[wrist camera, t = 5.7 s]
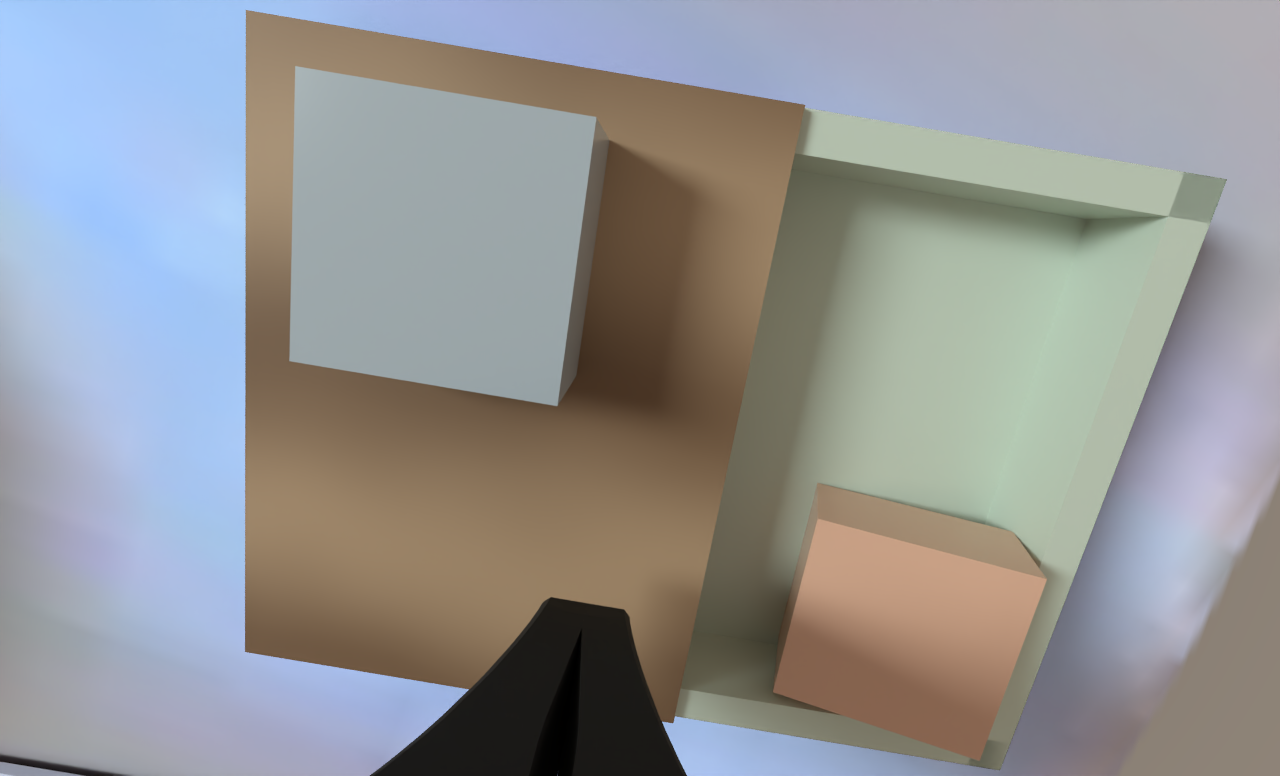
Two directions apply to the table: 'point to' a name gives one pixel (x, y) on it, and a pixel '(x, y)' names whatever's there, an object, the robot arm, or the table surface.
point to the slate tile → (441, 235)
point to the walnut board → (504, 427)
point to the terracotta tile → (905, 618)
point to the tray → (937, 377)
